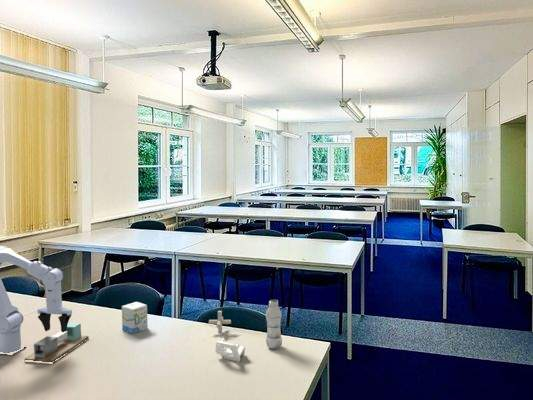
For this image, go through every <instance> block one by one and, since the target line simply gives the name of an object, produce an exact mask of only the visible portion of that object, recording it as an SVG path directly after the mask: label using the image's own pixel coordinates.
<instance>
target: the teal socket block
mask: <svg viewBox="0 0 533 400" xmlns="http://www.w3.org/2000/svg"><path fill="white" fill-rule="evenodd" d="M81 325H82V324H81V323H78V322H77V323H76V322H68V324H67V329H66V331H67V337H68V338H67V339H66V340H76V339H78V338H79V337H81V336H82V326H81Z"/></svg>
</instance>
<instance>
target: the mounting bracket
mask: <svg viewBox="0 0 533 400" xmlns="http://www.w3.org/2000/svg"><path fill="white" fill-rule="evenodd" d="M245 351H246V347H245V346H243V345H240V344H237V343H236V344H235V343H231V342H228V341H227V340H226V338H224V337H222V339H221V340H217V341H216V342H215V353H216V354H218V355H220V357H221V358H222V359H225V360H229V361H235V362H240V361H241V356H242V357H243V356H245V354H246V353H245Z"/></svg>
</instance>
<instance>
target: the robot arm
mask: <svg viewBox="0 0 533 400" xmlns="http://www.w3.org/2000/svg"><path fill="white" fill-rule="evenodd" d="M3 263H10V264H13V265H15V266H17V267H20V268H22V269H23V270H26V271H27V274H28V275H31V276H32V277H34V278H37V279H38V280H40V281H41V282H42V283H43V285H44V288H45V301H46V302H45V304H46V307H39V308H37V310H36V311H37V314H38V316H37V318H38V319H39V321H40V322H41V324H42V327H43V329H44V331H45V332H48V331H50V330H51V317H52V315H60V316H58V317H57V318H58V320H59V324H60V331H61V332H65V331H66V329H67V324H68V323H69V322H70V319H71V317H72V314H73V310H72V309H71V308H66V307H63V298H62V282H61V281H63V278H64V273H63V271H62V270H61V269H59V268H57V267H56V268H53V267H51V266H47V265H45V264H43V263H42V261H40V260H38V261H37V260H35V261H30V260H29V259H27V258H25V256H21V255H20V254H18V253H16V251H13V249H12V248H10V247H8V246H5V245H0V267H1V266H2V265H3ZM23 322H24V315H23V313H22V312H20V309H18V307H17V306H15V305H12V301H11V300H10V297H9V295H8V292H7V290H6V288H5V286H4V283H3V281H2V278H1V277H0V352H3V353H10V352H14V351H17V350H19V349H21V346H22V336H21V335H22V334H21V327H22V324H23Z"/></svg>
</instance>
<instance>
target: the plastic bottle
mask: <svg viewBox="0 0 533 400" xmlns="http://www.w3.org/2000/svg"><path fill="white" fill-rule="evenodd" d="M268 306H269V307H268V308H267V309H266V311H265V318H266V326H267V329H266V330H267V332H266V338H265V339H266V341H265V342H266V346H267V348H268V349H271V350H277V349H280V348H281V347H282V345H283V340H282V339H283V338H282V333H281V322H282V310H280V308H279V300H278V299H270V300H269V301H268Z"/></svg>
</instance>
